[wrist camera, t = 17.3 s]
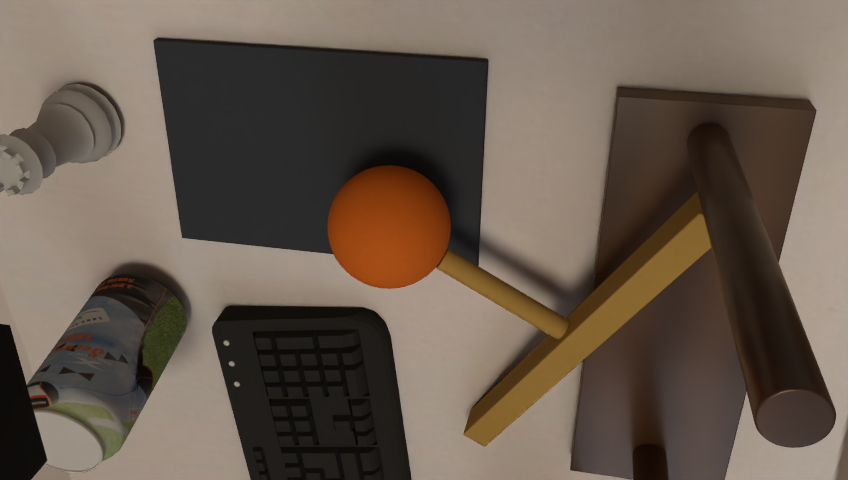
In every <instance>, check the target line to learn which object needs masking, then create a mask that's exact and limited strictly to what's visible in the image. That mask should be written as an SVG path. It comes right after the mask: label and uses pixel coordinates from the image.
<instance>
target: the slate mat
mask: <svg viewBox="0 0 848 480" xmlns="http://www.w3.org/2000/svg"><path fill="white" fill-rule="evenodd" d="M154 48H155V55H156V61H157V68H158V75H159V82H160V89H161V96H162V103H163V109H164V116H165V123H166V130H167V137H168V144H169V151H170V157H171V164H172V171H173V178H174V185H175V192H176V199H177V205H178V212H179V219H180V226H181V233H182V238H188V239H198V240H207V241H216V242H226V243H235V244H244V245H254V246H263V247H272V248H282V249H291V250H300V251H310V252H319V253H328V254H334V253H333V251H332V249H331V246H330V243H329V238H328V229H327V225H328V216H329V211H330V208H331V205H332V202H333V200H334V198H335V196H336V195H337V193H338V192H339V190H340V189H341V188H342V187H343V186H344V184H345V183H346V182H347V181H349V180H350V179H351V178H352V177H354V176H355V175H357V174H358V173H360V172H362V171H364V170H367V169H370V168H373V167H378V166H386V165H393V166H401V167H405V168H408V169H411V170H414V171H416V172H418V173H420V174H421V175H423V176H424V177H426V178H427V179H428V180H430V181H431V182H432V183H433V184H434V185H435V186H436V188H437V189H438V190H439V191H440V193H441V195H442V196H443V198H444V200H445V202H446V204H447V207H448V211H449V215H450V221H451V232H450V239H449V243H448V247H447V249H450V250H451V251H453V252H455V253H456V254H458V255H460V256H462V257H463V258H465V259H467V260H468V261H470V262H472V263H473V264H475V265H477V266H478V259H479V239H480V219H481V198H482V178H483V158H484V137H485V117H486V96H487V76H488V59H478V58H462V57H446V56H431V55H415V54H399V53H383V52H368V51H352V50H336V49H321V48H305V47H289V46H274V45H258V44H242V43H227V42H211V41H195V40H180V39H164V38H157V39H155V40H154Z"/></svg>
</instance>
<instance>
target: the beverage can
mask: <svg viewBox="0 0 848 480" xmlns="http://www.w3.org/2000/svg"><path fill="white" fill-rule="evenodd" d="M186 325H187V319H186V314H185V311H184V309H183V307H182V305H181V303H180V302H179V300H178V299H177V298H176V297H175V296H174V295H173V294H172V293H171V292H170V291H169V290H168V289H166V288H165V287H164V286H162V285H161V284H159V283H157V282H155V281H153V280H151V279H148V278H145V277H142V276H138V275H130V274H123V275H116V276H112V277H110V278H107V279H106V280H104V281H103V282H101V284H100V285H99V286H98V287H97V288H96V290H95V291H94V293H93V294H92V295H91V297H90V298H89V299H88V301H87V302H86V304H85V305H84V306H83V308H82V309H81V311H80V312H79V313H78V315H77V316H76V317H75V319H74V320H73V322H72V323H71V324H70V326H69V327H68V329H67V330H66V331H65V333H64V334H63V335H62V337H61V338H60V340H59V341H58V342H57V344H56V345H55V347H54V348H53V349H52V351H51V352H50V353H49V355H48V356H47V358H46V359H45V360H44V362H43V363H42V365H41V366H40V367H39V369H38V370H37V371H36V373H35V374H34V376H33V377H32V379H31V380H30V381H29V383H28V384H27V389H28V392H29V396H30V399H31V403H32V406H33V410H34V414H35V417H36V421H37V424H38V428H39V431H40V435H41V439H42V442H43V446H44V449H45V453H46V456H47V462H46V463H45V464H44V465H45V466H48V467H50V468H53V469H56V470H59V471H63V472H69V473H83V472H88V471H91V470H93V469H95V468H96V467H97V466H98V465H100V463H101V462H102V461H104V460H106V459H108V458H110V457H112V456H113V455H114V454H115V453H116V452H118V451H119V450H120V448H121V447H122V445H123V444H124V442H125V440H126V438H127V436H128V434H129V433H130V431H131V429H132V427H133V425H134V424H135V422H136V420H137V418H138V416H139V414H140V413H141V411H142V409H143V407H144V405H145V403H146V402H147V400H148V398H149V396H150V394H151V392H152V391H153V389H154V387H155V385H156V383H157V382H158V380H159V378H160V376H161V374H162V372H163V371H164V369H165V367H166V365H167V363H168V361H169V360H170V358H171V356H172V354H173V352H174V351H175V349H176V347H177V345H178V343H179V341H180V340H181V338H182V336H183V334H184V332H185V329H186Z"/></svg>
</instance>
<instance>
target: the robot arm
mask: <svg viewBox="0 0 848 480" xmlns="http://www.w3.org/2000/svg"><path fill="white" fill-rule="evenodd" d="M46 462H47V456H46V453H45V449H44V446H43V442H42V439H41V435H40V431H39V428H38V424H37V421H36V417H35V414H34V410H33V406H32V403H31V399H30V396H29V392H28V389H27V385H26V382H25V378H24V374H23V371H22V367H21V364H20V360H19V356H18V353H17V350H16V346H15V342H14V339H13V335H12V331H11V328H10V325H4V324H0V480H31V479H32V478H33V477H34V475H35V474H36V473H37V472H38V471H39V470H40V469H41V467H42V466H43V465H44V464H45V463H46Z"/></svg>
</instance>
